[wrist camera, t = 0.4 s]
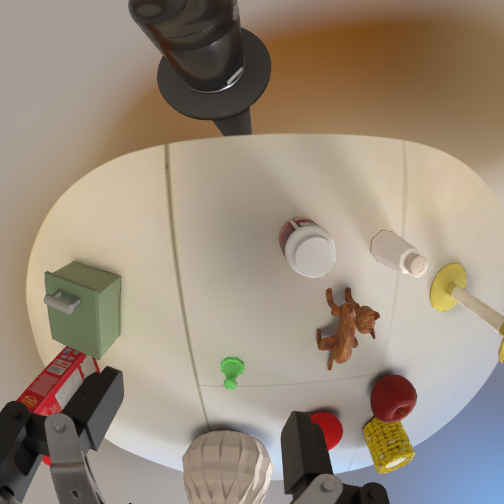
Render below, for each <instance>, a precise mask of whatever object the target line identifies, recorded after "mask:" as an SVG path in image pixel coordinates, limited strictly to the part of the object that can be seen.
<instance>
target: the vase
mask: <svg viewBox="0 0 504 504" xmlns="http://www.w3.org/2000/svg"><path fill="white" fill-rule="evenodd" d="M182 459H183V468H184V485H185V490H186V493H187V496H188V500H189V503H190V504H262V502H263V500H264V498H265V496H266V495H267V492H268V489H269V485H270V478H271V475H272V473H273V470H274V465H273V463H272V461H271V459H270V456H269V454H268V452H267V450H266V448H265V446H264V445H263V443H262V442H261V441H259V440H257V439H255V438H254V437H252V436H251V435H248V434H244V433H242V432H237V431H230V430H224V431H223V430H221V431H212V432H209V433H206V434H202V435H200V436H198V437H197V438H196V440H195V441H194V442H193V443H192V444H191V445H190V446H189V448H188V449H187V451H186V452H185V454H184V455H183V457H182Z"/></svg>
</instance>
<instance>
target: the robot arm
mask: <svg viewBox="0 0 504 504" xmlns="http://www.w3.org/2000/svg"><path fill="white" fill-rule="evenodd" d="M128 8H129V12H130V15H131V17H132V18H133V20H134V21H135V22H136V23H137V24H138V26H139V27H140V28H141V29H142V31H143V32H144V33H145V34H146V35H147V37H148V38H149V39H150V40H151V41H152V42H153V43H154V45H155V46H156V47H157V49H158V50H159V51H160V52H161V53H162V55H163V56H164V57H165V58H166V60H167V61H168V62H169V63H170V65H171V66H172V67H173V69H174V70H175V71H176V72H177V74H178V75H179V76H180V78H181V80H182V81H183V83H184V84H185V85H186V86H187V87H188V88H189V89H191V90H192V91H194V92H197V93H200V94H218V93H221V92H224V91H226V90H228V89H230V88H232V87H233V86H234V85H235V84H237V83H238V81H239V80H240V79H241V77H242V76H243V74H244V71H245V57H244V53H243V43H242V34H241V26H240V17H239V8H238V1H237V0H129V3H128ZM123 397H124V386H123V373H122V371H120V370H117V369H115V368H112V367H109V366H106V367H105V368H104V370H103V371H102V373H101V374H99V373H97V372H94V373H92V374H90V375H89V376H87V377H86V378H85V379H84V381H83V382H82V384H81V385H80V386H79V388H78V389H77V391H76V392H75V393H74V394H73V396H72V397H71V399H70V400H69V401H68V403H67V404H66V405H65V407H64V408H63V410H62V411H61V412H60V413H53V414H51V415H49V416H43V415H40V414H36V413H32V412H29V409H28V408H27V406H26V405H25V404H24V403H22V402H20V401H11V402H9V403H7V404H6V405H5V407H4V408H3V409H2V411H1V412H0V504H22V501H23V499H24V496H25V494H26V492H27V490H28V488H29V485H30V483H31V481H32V479H33V477H34V475H35V473H36V471H37V468H38V466H39V464H40V462H41V460H42V458H43V457H44V455H45V456H48V457H50V458H51V465H50V471H51V475H52V479H53V483H54V487H55V490H56V493H57V496H58V500H59V502H60V504H106V503H105V501H104V498H103V496H102V494H101V492H100V490H99V488H98V485H97V483H96V480H95V478H94V475H93V472H92V469H91V467H90V464H89V461H88V457H87V455H86V454H87V452H88V450H89V449H92V450H95V451H97V450H98V448H99V446H100V444H101V442H102V440H103V438H104V436H105V434H106V432H107V430H108V428H109V426H110V424H111V422H112V420H113V418H114V417H115V415H116V413H117V411H118V409H119V407H120V405H121V403H122V401H123ZM281 450H282V463H283V477H284V490H285V494H292V495H293V500H292V501H291V502H290V503H289V504H390V503H389V499H388V496H387V492H386V489H385V488H384V487H383V486H382V485H381V484H378V483H375V482H371V483H367V484H365V485H364V486H363V487H358V486H351V485H347V484H344V483H342V482H341V480H340V479H339V478H337V477H336V476H334V474H333V471H332V466H331V462H330V457H329V453H328V448H327V444H326V441H325V435H324V431H323V430H322V428H321V427H320V426H319V424H318V423H312V421H311V416H310V413H309V412H300V411H293V412H292V413H291V415H290V417H289V418H288V420H287V422H286V424H285V426H284V428H283V430H282V433H281ZM129 504H131V503H129Z"/></svg>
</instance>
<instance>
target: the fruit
mask: <svg viewBox="0 0 504 504" xmlns="http://www.w3.org/2000/svg"><path fill="white" fill-rule="evenodd" d="M311 421H312V423H318V424H319V426H320V427H321V428H322V430H323V431H324V435H325V441H326V444H327V448H328V451H329V450H330V449H332V448H333V447H335V446H336V445H337V444H338V443H339V441H340V440H341V438H342V435H343V427H342V424H341V422H340V421H339V419H338V418H337V417H336V416H334V415H333V414H331V413H328V412H319V413H316V414H313V415H311Z"/></svg>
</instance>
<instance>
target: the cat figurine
mask: <svg viewBox="0 0 504 504" xmlns="http://www.w3.org/2000/svg"><path fill="white" fill-rule="evenodd" d="M326 297H327V302H328V304H329V306H330V307H331V309H332V311H331V314H332V315H333V316H339V323H338V328H337V331H336V333H335V335H333V336H331V337H326V338H323V339H322V338H321V330H320V329H318V331H317V344H318V349H319V350H329V351H332V353H331V355H330V358H329V363H328V370H331V368H332V363H333V359H334V358H335V360H336V362H337V363H339V364H341V363H344V362H346V361H347V360H349V359H350V358H351V355H352V348H356V347H357V346H358V341H357V339H356V338H355V332H356V327H357V329H358V331H359V332H360V333H362V334H369V333H370V334H371V335H372V337H373V339H375V332H374V329H373V328H374V325H375V320H377V319H378V318H379V317H380V315H379V313H377V312H376V311H374V310H372V309H371V308H370V307H368V306H362V307H360V306H359V304H358V303H356V302H355V301H354V300H353V299H352V295H351V288H346V290H345V300H346V302H347V303H344V304H342V305H341V306H340V307H338V306H337V304H336V303H334V301H333V298H332V289H327V291H326Z"/></svg>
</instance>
